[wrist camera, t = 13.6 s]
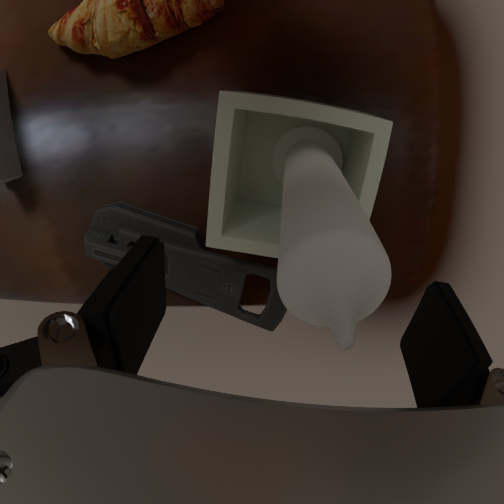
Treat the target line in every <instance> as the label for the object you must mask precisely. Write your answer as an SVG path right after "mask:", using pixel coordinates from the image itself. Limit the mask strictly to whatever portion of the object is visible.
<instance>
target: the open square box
mask: <svg viewBox="0 0 504 504" xmlns="http://www.w3.org/2000/svg"><path fill="white" fill-rule="evenodd" d="M392 125H393V122H392V121H389V120H386V119H383V118H380V117H377V116H374V115H371V114H368V113H365V112H361V111H357V110H353V109H349V108H344V107H340V106H335V105H330V104H325V103H320V102H315V101H309V100H304V99H298V98H292V97H286V96H279V95H272V94H265V93H257V92H249V91H219V99H218V108H217V118H216V127H215V137H214V147H213V158H212V169H211V181H210V193H209V206H208V220H207V234H206V247H212V248H218V249H224V250H230V251H236V252H243V253H249V254H255V255H261V256H267V257H273V258H278V254H279V241H280V226H281V212H282V196H283V185H282V184H281V183H280V182H279V181H278V180H277V178H276V176H275V174H274V172H273V169H272V152H273V149H274V146H275V144H276V142H277V141H278V139H279V138H280V137H281V136H282V135H283V134H284V133H286V132H287V131H289V130H290V129H292V128H295V127H299V126H315V127H318V128H321V129H323V130H325V131H327V132H328V133H330V134H331V135H332V136H333V137H334V138H335V139H336V141H337V142H338V144H339V145H340V147H341V150H342V153H343V169H342V172H341V173H342V174H343V176H344V178H345V179H346V181H347V183H348V184H349V186H350V188H351V189H352V191H353V193H354V195H355V196H356V198H357V200H358V202H359V203H360V205H361V207H362V209H363V210H364V212H365V214H366V216H367V218H368V219H369V220H370V216H371V213H372V209H373V205H374V202H375V198H376V194H377V190H378V186H379V182H380V178H381V174H382V170H383V166H384V162H385V158H386V153H387V149H388V144H389V140H390V135H391V130H392Z"/></svg>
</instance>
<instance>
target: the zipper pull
mask: <svg viewBox="0 0 504 504" xmlns="http://www.w3.org/2000/svg"><path fill="white" fill-rule="evenodd" d="M142 235H147V236H153V237H158V238H159V240H160V242H163V243H164V253H165V286H166V288H168V289H170V290H172V291H175V292H177V293H179V294H181V295H184V296H186V297H188V298H191V299H193V300H195V301H198V302H200V303H202V304H205V305H207V306H209V307H212V308H214V309H217V310H219V311H222V312H224V313H226V314H229V315H231V316H234V317H236V318H238V319H241V320H243V321H246V322H248V323H251V324H253V325H256V326H258V327H261V328H264V329H266V330H269V331H274V329H275V328H276V327H277V326H278V325H279V323H280V322H281V321H282V318H283V317H284V315H285V313H286V310H287V308H286V307H285V306H284V304H283V302H282V300H281V298H280V295H279V292H278V288H277V267H272V266H268V265H264V264H260V263H256V262H251V261H246V260H242V259H238V258H234V257H230V256H226V255H222V254H217V253H213V252H209V251H206V250H207V247H206V245H205V242H204V240H203V237H202V235H201V232H200V230H199V228H198V227H196V226H193V225H190V224H187V223H184V222H181V221H178V220H175V219H172V218H169V217H166V216H163V215H160V214H157V213H154V212H151V211H148V210H145V209H142V208H140V207H137V206H134V205H131V204H128V203H126V202H123V201H119V202H114V203H110V204H106V205H103V206H102V207H101V208H99V209H98V210H97V211H96V212H95V214H94V217H93V221H92V224H91V227H90V229H89V231H88V232H87V234H86V235H85V238H84V244H85V253H86V255H87V256H88V257H90V258H94V259H97V260H98V261H99V262H100V263H102V264H103V265H105V266H106V267H108V268H109V269H112V268H115V267H116V266H117V264H118V263H119V262H120V261H121V259H122V258H123V257H124V256H125V254H126V253H127V252H128V251H129V250H130V248H131V247H132V246H133V245H134V244H135V242H136V241H137V240H138V239H139V238H140V236H142ZM252 273H253V274H256V275H259V276H262V277H265V278H268V279H269V280H270V293H269V297H268V300H267V303H266V306H265V309H264V310H263V311H262V313H261V314H259V315H258V314H255V313H252V312H249V311H246V310H244V309H243V308H242V307H241V306H240V301H241V297H242V293H243V288H244V284H245V280H246V276H247V275H248V274H252Z"/></svg>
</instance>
